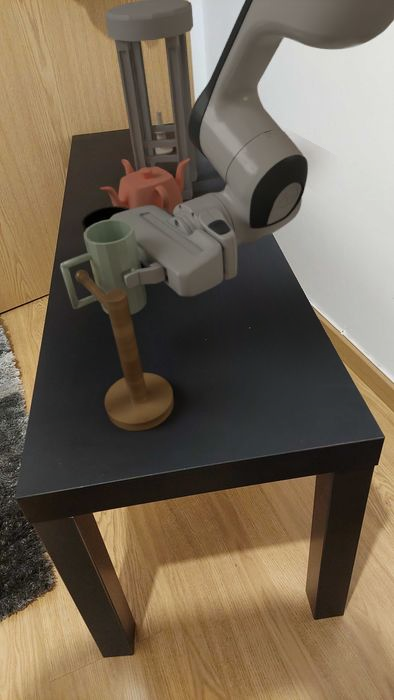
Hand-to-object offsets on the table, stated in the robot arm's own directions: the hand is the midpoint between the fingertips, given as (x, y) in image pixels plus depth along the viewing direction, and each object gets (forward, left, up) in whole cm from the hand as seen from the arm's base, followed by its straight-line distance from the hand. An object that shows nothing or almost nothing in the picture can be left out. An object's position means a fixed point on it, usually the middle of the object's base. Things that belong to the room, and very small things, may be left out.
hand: (110, 268), depth 66 cm
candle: (+67, -40, -15) cm, 79 cm away
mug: (+23, -9, -15) cm, 29 cm away
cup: (0, +1, -6) cm, 6 cm away
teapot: (+36, -21, -15) cm, 44 cm away
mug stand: (-7, +3, -15) cm, 17 cm away
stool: (+46, -31, -15) cm, 57 cm away
